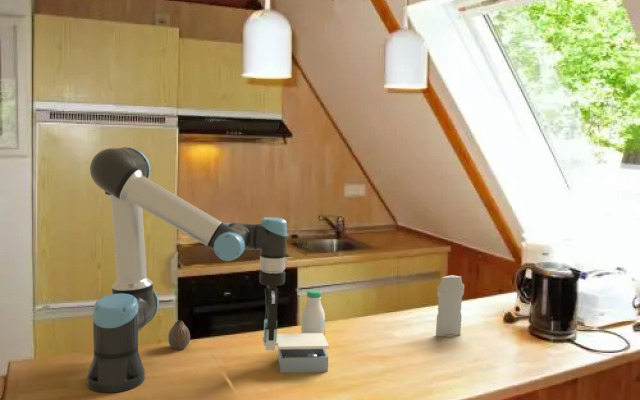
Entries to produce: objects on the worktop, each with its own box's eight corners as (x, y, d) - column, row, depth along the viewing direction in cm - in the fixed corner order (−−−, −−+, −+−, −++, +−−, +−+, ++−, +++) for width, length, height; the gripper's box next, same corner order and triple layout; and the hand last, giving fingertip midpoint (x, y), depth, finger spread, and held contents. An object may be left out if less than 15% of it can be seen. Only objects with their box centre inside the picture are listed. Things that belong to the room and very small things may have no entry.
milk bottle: (321, 356, 181) (323, 295, 179) (298, 353, 182) (299, 293, 180) (326, 347, 188) (328, 289, 186) (303, 345, 190) (305, 287, 188)
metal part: (306, 366, 171) (306, 356, 171) (306, 362, 174) (306, 352, 174) (317, 366, 171) (317, 356, 171) (316, 362, 174) (317, 352, 174)
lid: (264, 349, 164) (265, 326, 163) (262, 336, 174) (262, 314, 174) (328, 348, 167) (330, 326, 166) (323, 335, 177) (324, 314, 177)
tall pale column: (458, 332, 207) (462, 273, 205) (464, 336, 204) (467, 276, 201) (432, 334, 205) (435, 274, 202) (437, 338, 201) (440, 277, 198)
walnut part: (288, 369, 168) (289, 360, 168) (284, 364, 172) (284, 355, 171) (301, 368, 170) (301, 358, 169) (296, 363, 173) (296, 353, 173)
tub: (280, 375, 166) (281, 358, 165) (277, 361, 176) (278, 345, 175) (327, 373, 168) (328, 357, 167) (322, 360, 178) (322, 344, 177)
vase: (190, 343, 188) (190, 317, 187) (189, 351, 182) (190, 324, 181) (168, 344, 187) (168, 318, 186) (167, 352, 180) (167, 325, 179)
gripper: (288, 278, 159) (285, 357, 161) (282, 263, 176) (279, 335, 179) (261, 277, 157) (258, 358, 160) (258, 263, 175) (255, 336, 178)
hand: (269, 346), depth 169 cm, fingers closed on lid, 5 cm apart
